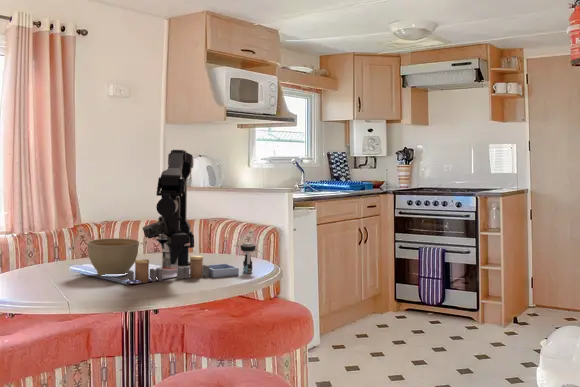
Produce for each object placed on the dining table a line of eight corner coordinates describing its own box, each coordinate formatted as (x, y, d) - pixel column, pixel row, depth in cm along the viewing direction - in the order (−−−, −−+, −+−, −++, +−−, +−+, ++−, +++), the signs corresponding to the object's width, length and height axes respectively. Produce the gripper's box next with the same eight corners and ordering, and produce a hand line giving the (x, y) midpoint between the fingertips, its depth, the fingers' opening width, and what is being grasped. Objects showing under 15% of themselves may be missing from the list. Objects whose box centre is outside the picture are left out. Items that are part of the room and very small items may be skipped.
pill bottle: (163, 267, 184) (163, 241, 183) (178, 267, 184) (178, 242, 184) (161, 270, 179) (161, 244, 179) (176, 270, 180) (177, 244, 179)
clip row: (127, 281, 176) (127, 270, 176) (205, 275, 190) (205, 264, 190) (130, 283, 174) (130, 272, 174) (209, 276, 188) (209, 266, 187)
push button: (257, 274, 194) (258, 244, 194) (241, 274, 193) (242, 244, 192) (253, 270, 201) (254, 241, 200) (238, 270, 199) (239, 242, 199)
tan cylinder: (187, 276, 187) (188, 256, 187) (199, 275, 190) (200, 255, 189) (192, 278, 184) (193, 258, 184) (204, 277, 186) (205, 257, 186)
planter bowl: (75, 276, 182) (75, 242, 181) (109, 268, 197) (110, 237, 196) (116, 281, 176) (117, 246, 175) (148, 273, 191) (149, 240, 190)
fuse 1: (133, 280, 178) (133, 259, 177) (146, 279, 180) (146, 258, 180) (137, 283, 174) (137, 261, 174) (150, 282, 177) (150, 260, 176)
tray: (201, 272, 194) (201, 265, 194) (226, 270, 199) (226, 263, 199) (213, 277, 186) (213, 270, 186) (238, 275, 191) (238, 267, 191)
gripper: (136, 211, 184) (135, 259, 185) (155, 217, 169) (155, 269, 169) (169, 210, 190) (168, 257, 191) (191, 216, 175) (190, 267, 175)
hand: (169, 262), depth 182 cm, fingers closed on pill bottle, 5 cm apart
